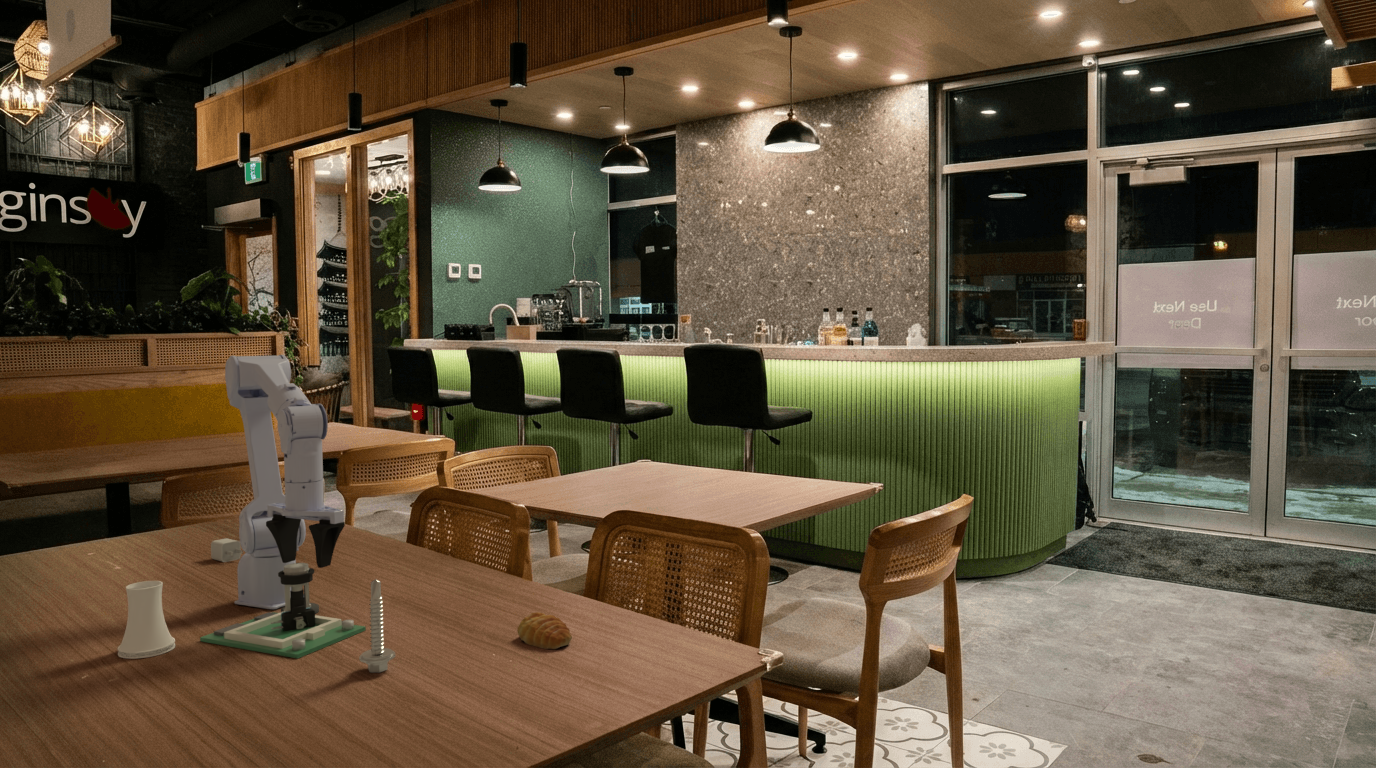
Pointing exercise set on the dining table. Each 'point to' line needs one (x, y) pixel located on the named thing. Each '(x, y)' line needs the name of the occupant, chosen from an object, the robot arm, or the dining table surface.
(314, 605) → the dark gray round disc
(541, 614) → the pastry
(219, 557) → the usb wall charger
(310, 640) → the circuit board
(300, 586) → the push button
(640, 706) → the dining table surface
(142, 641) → the cooling tower
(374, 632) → the screw
